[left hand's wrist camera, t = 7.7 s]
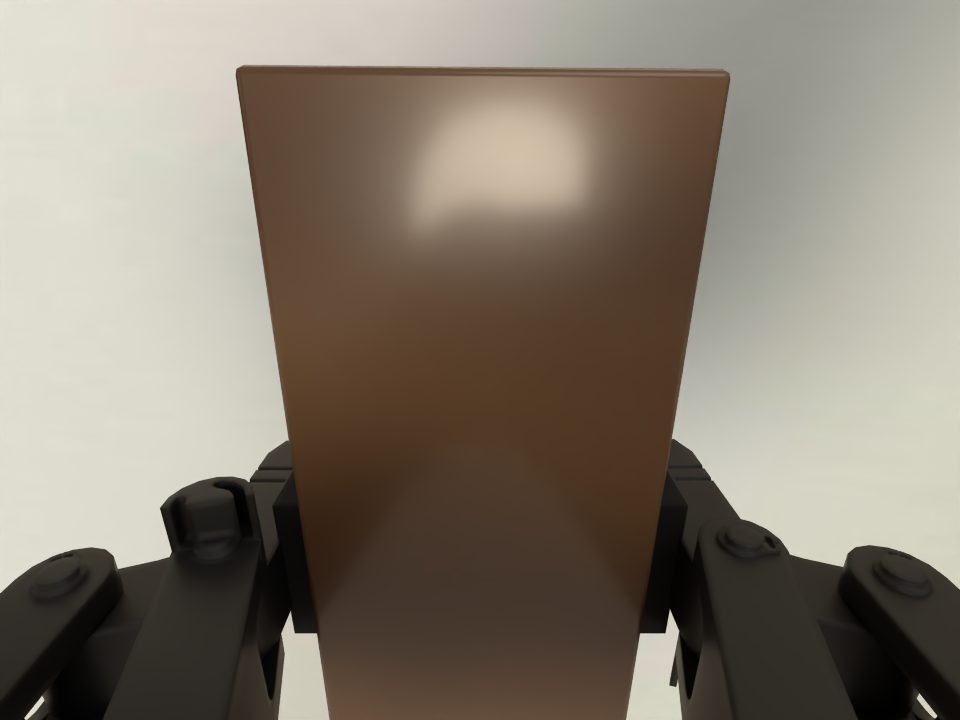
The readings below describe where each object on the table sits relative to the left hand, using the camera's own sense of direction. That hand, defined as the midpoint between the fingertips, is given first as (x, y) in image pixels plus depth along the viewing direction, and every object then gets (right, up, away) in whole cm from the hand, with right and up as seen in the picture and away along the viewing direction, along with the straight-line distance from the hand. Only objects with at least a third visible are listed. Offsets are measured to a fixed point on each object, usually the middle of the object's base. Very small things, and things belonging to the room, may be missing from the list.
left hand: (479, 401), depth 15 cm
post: (0, -29, +12) cm, 32 cm away
